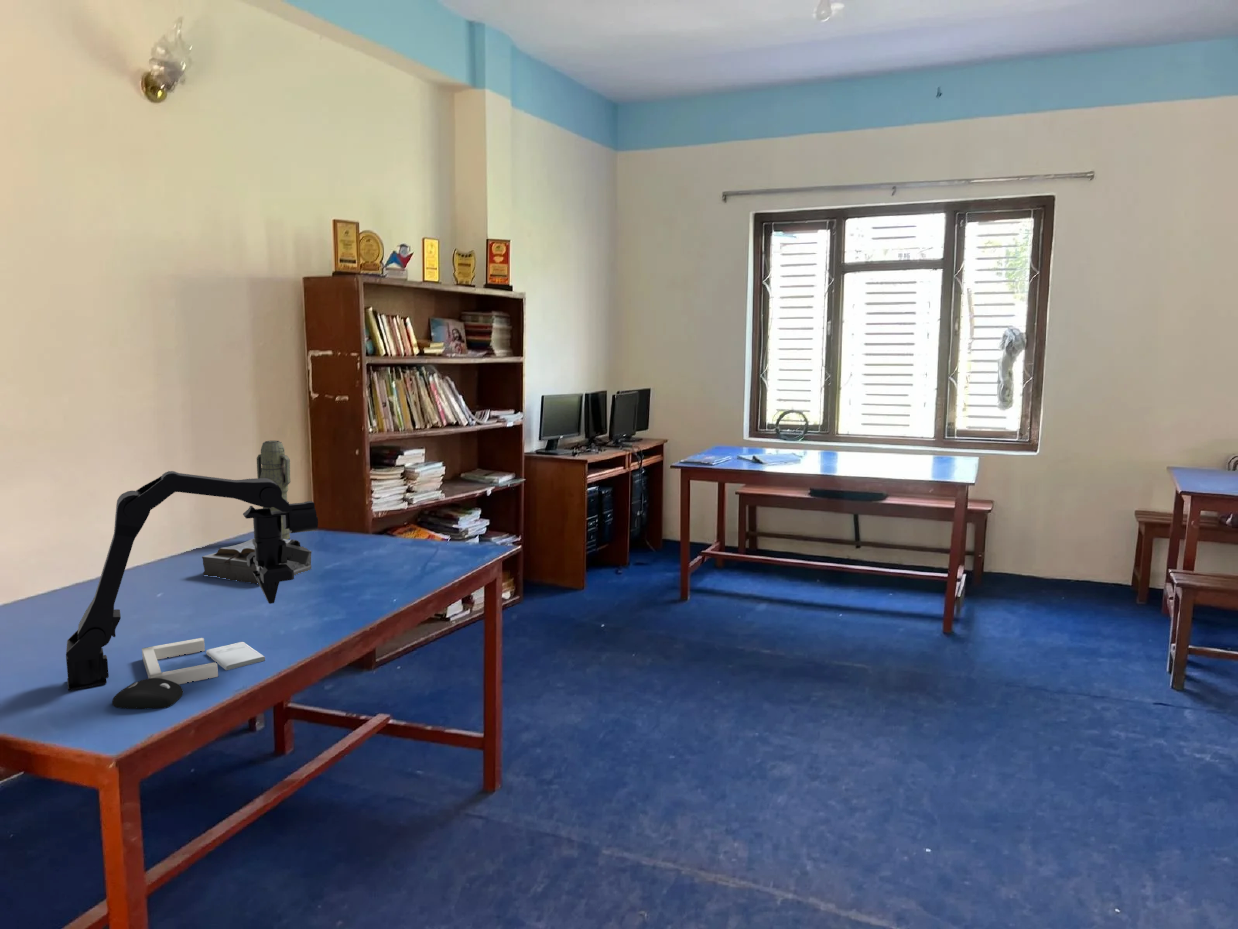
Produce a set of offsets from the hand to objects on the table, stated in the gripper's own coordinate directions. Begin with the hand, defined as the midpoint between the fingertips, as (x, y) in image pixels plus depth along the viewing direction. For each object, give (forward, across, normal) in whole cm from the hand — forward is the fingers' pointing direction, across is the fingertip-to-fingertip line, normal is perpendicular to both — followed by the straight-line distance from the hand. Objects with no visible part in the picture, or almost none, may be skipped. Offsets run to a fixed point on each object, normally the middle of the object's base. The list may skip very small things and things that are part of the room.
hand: (271, 603), depth 182 cm
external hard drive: (+12, 0, +8) cm, 14 cm away
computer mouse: (+12, -15, +26) cm, 32 cm away
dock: (+11, 0, +19) cm, 22 cm away
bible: (+12, +68, -10) cm, 69 cm away
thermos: (+11, +108, -24) cm, 111 cm away
